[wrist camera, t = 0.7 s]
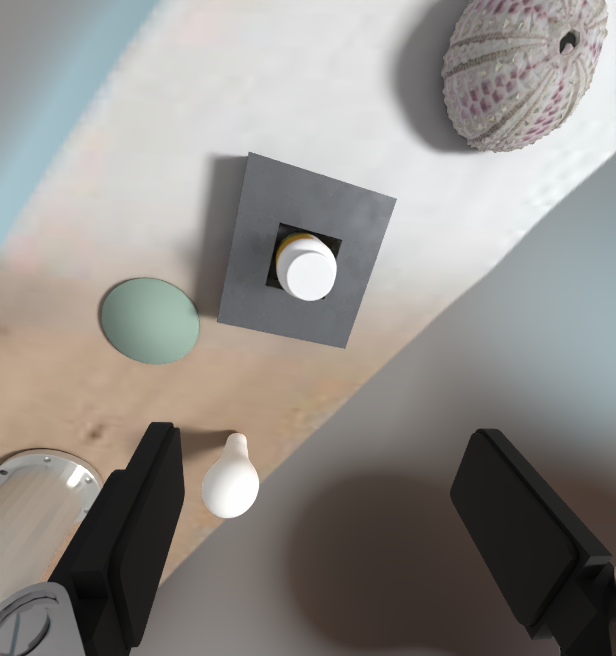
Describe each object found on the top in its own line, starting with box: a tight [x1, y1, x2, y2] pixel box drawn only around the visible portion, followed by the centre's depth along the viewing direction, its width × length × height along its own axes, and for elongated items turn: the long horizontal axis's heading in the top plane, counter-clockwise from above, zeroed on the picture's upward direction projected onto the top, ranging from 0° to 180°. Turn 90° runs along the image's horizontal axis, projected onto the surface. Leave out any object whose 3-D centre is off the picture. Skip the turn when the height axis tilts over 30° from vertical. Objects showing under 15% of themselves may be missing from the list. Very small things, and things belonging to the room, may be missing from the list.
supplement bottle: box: [275, 232, 336, 301], centre depth 30 cm, size 5×5×10 cm
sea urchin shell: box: [441, 0, 608, 153], centre depth 27 cm, size 13×14×8 cm
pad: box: [101, 278, 200, 364], centre depth 35 cm, size 10×10×1 cm
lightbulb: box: [202, 433, 259, 518], centre depth 38 cm, size 6×6×11 cm
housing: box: [217, 152, 397, 349], centre depth 33 cm, size 16×14×4 cm
